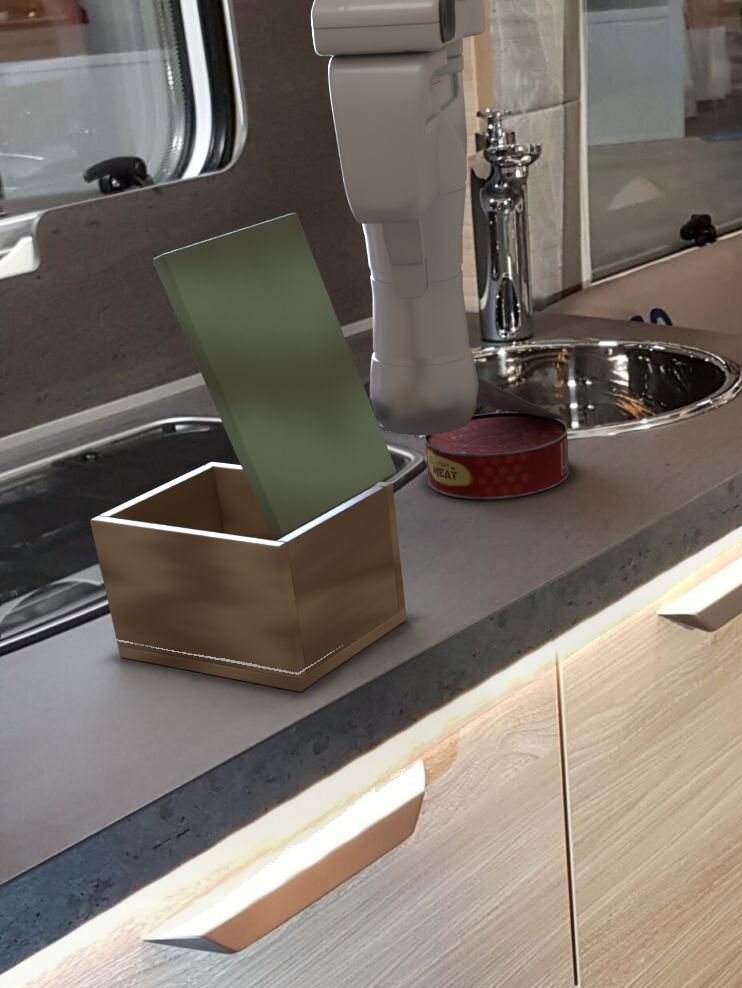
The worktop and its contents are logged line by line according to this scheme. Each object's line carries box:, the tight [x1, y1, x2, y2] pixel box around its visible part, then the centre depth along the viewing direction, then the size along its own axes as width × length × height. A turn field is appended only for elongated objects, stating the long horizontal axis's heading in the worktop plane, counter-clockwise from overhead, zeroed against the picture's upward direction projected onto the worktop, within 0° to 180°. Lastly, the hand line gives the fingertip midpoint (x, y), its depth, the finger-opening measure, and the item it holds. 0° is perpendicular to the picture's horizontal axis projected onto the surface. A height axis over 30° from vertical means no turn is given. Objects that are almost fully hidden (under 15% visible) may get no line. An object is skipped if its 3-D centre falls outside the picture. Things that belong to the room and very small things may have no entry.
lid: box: [152, 212, 397, 539], centre depth 76 cm, size 13×10×1 cm
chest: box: [89, 461, 408, 692], centre depth 84 cm, size 12×10×8 cm
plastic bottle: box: [361, 80, 478, 436], centre depth 90 cm, size 6×7×20 cm
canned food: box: [424, 375, 570, 501], centre depth 106 cm, size 11×10×10 cm
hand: (421, 282), depth 90 cm, fingers closed on plastic bottle, 6 cm apart
